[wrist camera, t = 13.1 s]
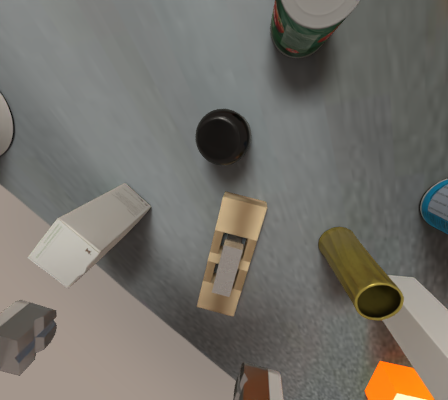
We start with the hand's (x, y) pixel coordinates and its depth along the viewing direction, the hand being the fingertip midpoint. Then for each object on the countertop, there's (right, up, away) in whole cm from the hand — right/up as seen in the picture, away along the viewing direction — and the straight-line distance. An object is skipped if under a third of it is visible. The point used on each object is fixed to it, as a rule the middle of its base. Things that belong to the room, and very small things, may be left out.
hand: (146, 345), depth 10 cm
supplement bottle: (+4, +16, +27) cm, 32 cm away
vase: (+22, -1, +31) cm, 38 cm away
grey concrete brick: (+4, -3, +34) cm, 34 cm away
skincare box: (-14, +4, +33) cm, 37 cm away
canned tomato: (+13, +30, +22) cm, 39 cm away
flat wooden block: (+4, -3, +33) cm, 34 cm away
